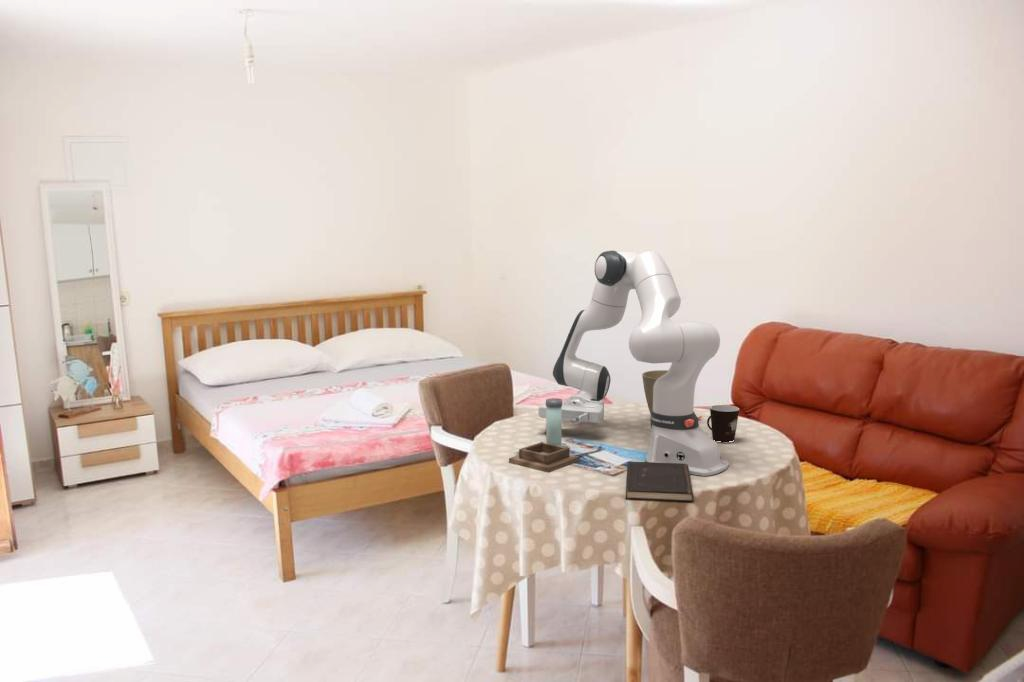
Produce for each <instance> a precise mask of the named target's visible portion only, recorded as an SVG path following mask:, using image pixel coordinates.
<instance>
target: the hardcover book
mask: <svg viewBox="0 0 1024 682" xmlns="http://www.w3.org/2000/svg"><path fill="white" fill-rule="evenodd" d="M691 480H692V479H691V474H689V468H688V465H687V464H681V463H655V462H647V461H627V465H626V480H625V500H636V501H639V500H640V501H657V502H658V501H660V502H679V503H691V502H692V501H693V500H694V493H693V487H692V481H691Z"/></svg>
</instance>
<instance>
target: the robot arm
mask: <svg viewBox="0 0 1024 682" xmlns="http://www.w3.org/2000/svg"><path fill="white" fill-rule="evenodd" d="M594 275H595V278H596V282H595V285H594V287H593V291H592V296H591V299H590V302H589V304H588V306H587V307H586V308H585V309H582V310H580V311H579V312H578V313H577V315H576V316H575V318H574V320H573V322H572V325H571V327H570V330H569V332H568V335H567V336H566V340H565V342H564V344H563V346H562V349H561V351H560V354H559V356H558V357H557V360H556V362H555V363H554V365H553V367H552V368H553V369H552V376H553V378H554V380H555V381H556V383H557V384H558V385H560V386H564V387H570V388H573V389H575V390H579V391H577V392H576V393H574V394H571V396H570V397H568V398H566V399H565V401H564V402H562V420H563V421H569V422H571V423H572V424H581V423H597V424H600V423H602V422H603V421H604V419H605V418H604V417H605V404H604V403H605V402H604V398H605V397H606V396H607V394H608V392H609V389H610V385H611V381H612V380H611V375H610V372H609V370H608V368H607V366H606V365H601V364H599V363H596V362H592V361H591V362H590V361H589V360H585V359H581V358H579V357H577V356H576V352H577V350H578V349H579V345H580V344H581V341H582V339H583V336H584V334H585V333H587V332H589V331H601V330H602V331H603V330H608V329H610V328H613V327H615V326H618V324H620V323H621V321H622V319H623V318H624V315H625V312H626V309H627V308H626V307H627V303H628V297H629V293H630V291H631V290H635V292H636V295H637V299H638V301H639V306H640V310H641V319H640V321H639V323H638V325H637V326H636V327H634V329H632V331H631V333H630V336H629V338H628V348H629V349H628V350H629V352H630V353H631V356H632V357H633V358H634V359H635V361H638V362H640V363H641V362H642V363H646V364H647V363H649V364H666V363H667V364H668V363H669V364H670V363H671V365H670V367H669V368H668V369H667V370H668V371H667V373H665V374H664V375H663V376H661V377H659V378H658V379H657V380H656V382H655V384H654V386H653V410H652V411H651V414H650V428H651V431H650V433H651V434H650V441H649V447H648V451H647V453H646V457H645V462H655V463H681V464H687V465H688V468H689V474H690V475H694V476H695V475H696V476H701V477H702V476H703V477H707V476H712V475H713V476H715V475H716V474H719V473H722V472H724V471H725V470H727V469H728V467H729V462H728V461H727V460H724V459H721V454H720V448H719V443H718V442H715V441H714V440H713V438H712V437H711V436H710V435H709V434H707V432H705V430H703V428H701V427H700V423H699V422H700V421H702V420H703V419H702V418H703V416H702V415H700V416H697V414H696V413H695V410H694V404H695V403H694V401H695V390H696V389H695V388H696V384H697V380H698V379H699V375H700V374H701V371H702V370H703V368H704V366H705V365H706V364H707V363H708V362H709V361H710V360H711V359H712V358H714V357H715V356H716V354H717V353H718V351H719V349H720V345H721V338H720V334H719V332H718V329H717V328H716V327H715V325H714V324H711V323H707V322H701V321H696V320H695V321H671V319H670V318H672V317H673V316H674V315H675V314H676V313H677V312H678V311H679V310H680V307H681V296H680V293H679V292H678V291H679V290H678V289H677V285H676V283H675V280H674V277H673V274H672V273H671V270H670V268H669V266H668V264H666V261H665V260H664V258H663V257H662V256H661V255H660V254H659V253H658V252H656V251H652V250H648V251H647V250H646V251H643V252H634V251H628V250H627V251H623V250H622V251H620V250H619V251H616V250H607V251H602V252H600V254H599V255H598V256H597V258H596V260H595V262H594ZM537 412H538V417H539V418H540V419H541V418H542V419H546V416H547V406H546V402H545V403H543V404H540V405H539V406H538V411H537Z"/></svg>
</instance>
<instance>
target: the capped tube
mask: <svg viewBox="0 0 1024 682" xmlns="http://www.w3.org/2000/svg"><path fill="white" fill-rule="evenodd" d="M545 403H546V406H547V416H546V418H545V419H546V421H545V422H546V425H545V426H546V432H545V433H546V434H545V435H546V442H545V443H549V444H553V445H558V446H562V422H563V421H562V403H563V399H561V398H557V397H555V398H553V397H552V398H546V399H545Z"/></svg>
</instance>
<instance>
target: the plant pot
mask: <svg viewBox="0 0 1024 682" xmlns="http://www.w3.org/2000/svg"><path fill="white" fill-rule="evenodd" d="M668 370H669V369H667V370H666V369H659V370H658V369H657V370H648V371H644V372H643V373H641V377H642V382H643V390H644V394H645V399H646V404H647V407H648V411H649V414H650V415H651V411H652V410H653V386H654V384H655V382H656V380H657V379H658V378H659V377H661V376H663V375H664V374H665V373H667V371H668Z"/></svg>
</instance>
